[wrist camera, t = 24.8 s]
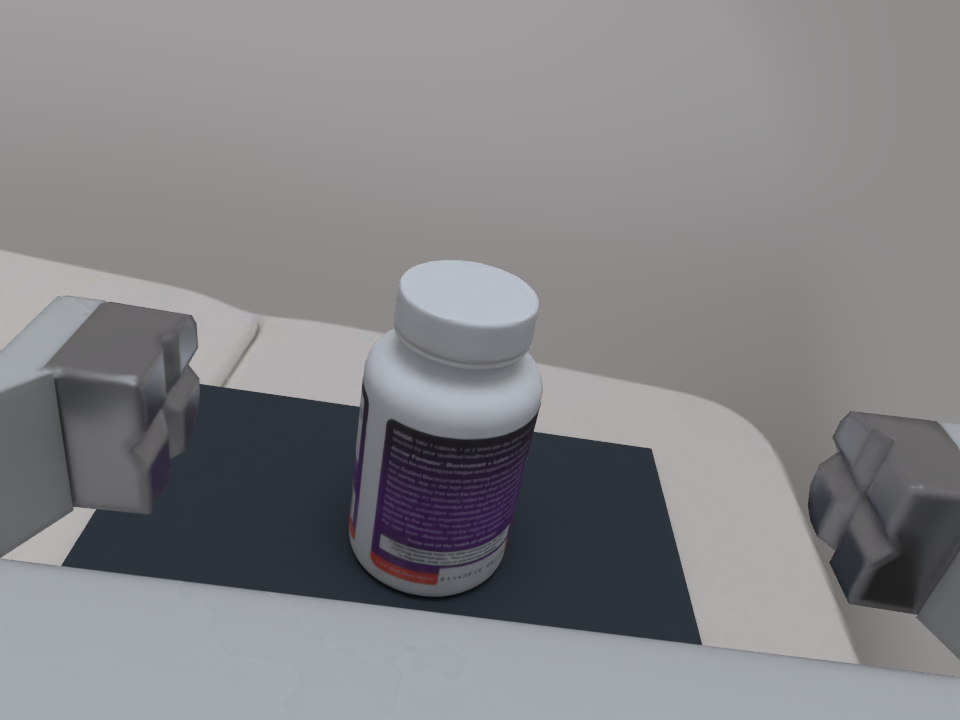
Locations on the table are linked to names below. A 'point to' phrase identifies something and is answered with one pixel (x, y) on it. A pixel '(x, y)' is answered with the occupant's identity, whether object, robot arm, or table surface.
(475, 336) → the pill bottle
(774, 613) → the table surface
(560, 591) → the mat
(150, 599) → the robot arm
